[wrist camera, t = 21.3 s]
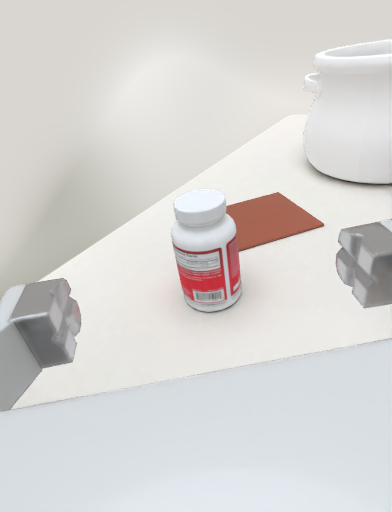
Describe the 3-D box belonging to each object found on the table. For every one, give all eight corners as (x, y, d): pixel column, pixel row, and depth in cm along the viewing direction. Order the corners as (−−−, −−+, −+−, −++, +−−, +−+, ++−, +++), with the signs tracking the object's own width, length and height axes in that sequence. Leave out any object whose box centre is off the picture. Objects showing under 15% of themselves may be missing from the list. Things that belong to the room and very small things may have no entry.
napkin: (225, 255, 42) (224, 253, 42) (195, 216, 52) (195, 214, 51) (324, 225, 44) (324, 223, 44) (278, 193, 54) (278, 192, 54)
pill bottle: (219, 269, 40) (209, 179, 33) (253, 295, 35) (248, 198, 29) (173, 292, 37) (153, 200, 31) (203, 323, 33) (186, 223, 27)
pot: (472, 144, 60) (510, 25, 50) (460, 202, 45) (511, 47, 35) (323, 137, 74) (330, 44, 64) (275, 179, 59) (275, 65, 49)
